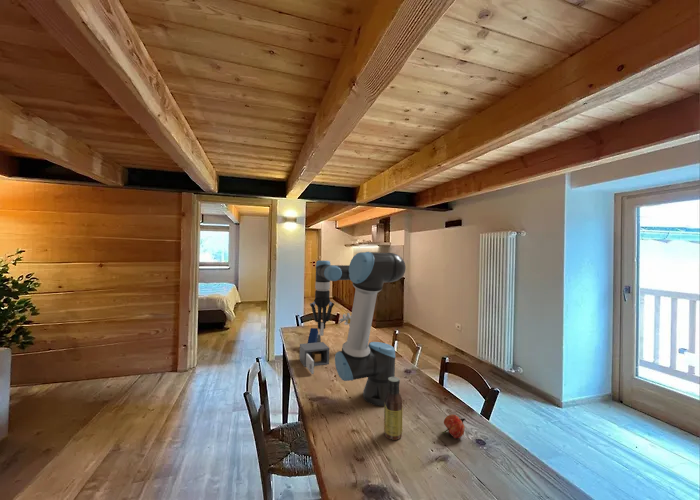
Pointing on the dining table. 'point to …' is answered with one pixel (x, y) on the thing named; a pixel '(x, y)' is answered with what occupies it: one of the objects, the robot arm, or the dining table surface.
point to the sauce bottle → (393, 410)
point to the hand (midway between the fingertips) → (321, 334)
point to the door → (309, 363)
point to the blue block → (314, 336)
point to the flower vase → (346, 319)
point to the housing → (315, 353)
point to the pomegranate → (454, 425)
